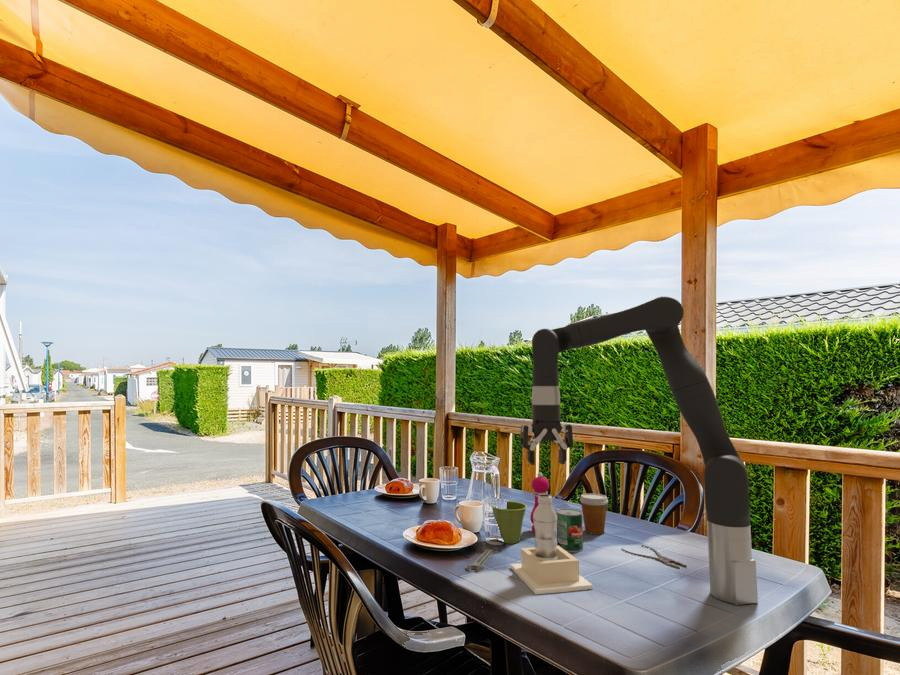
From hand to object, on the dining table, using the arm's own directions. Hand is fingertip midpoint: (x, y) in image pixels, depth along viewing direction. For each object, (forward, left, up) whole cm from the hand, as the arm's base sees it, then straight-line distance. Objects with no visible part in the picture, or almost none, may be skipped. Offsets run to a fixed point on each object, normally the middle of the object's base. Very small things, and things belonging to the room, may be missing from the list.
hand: (547, 464), depth 133 cm
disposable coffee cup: (+35, -32, -30) cm, 56 cm away
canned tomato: (+21, -16, -30) cm, 40 cm away
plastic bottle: (0, +1, -28) cm, 28 cm away
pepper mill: (+39, -14, -29) cm, 51 cm away
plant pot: (+32, 0, -30) cm, 43 cm away
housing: (0, 0, -29) cm, 29 cm away
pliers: (+9, -38, -30) cm, 49 cm away
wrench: (+17, +13, -30) cm, 37 cm away
